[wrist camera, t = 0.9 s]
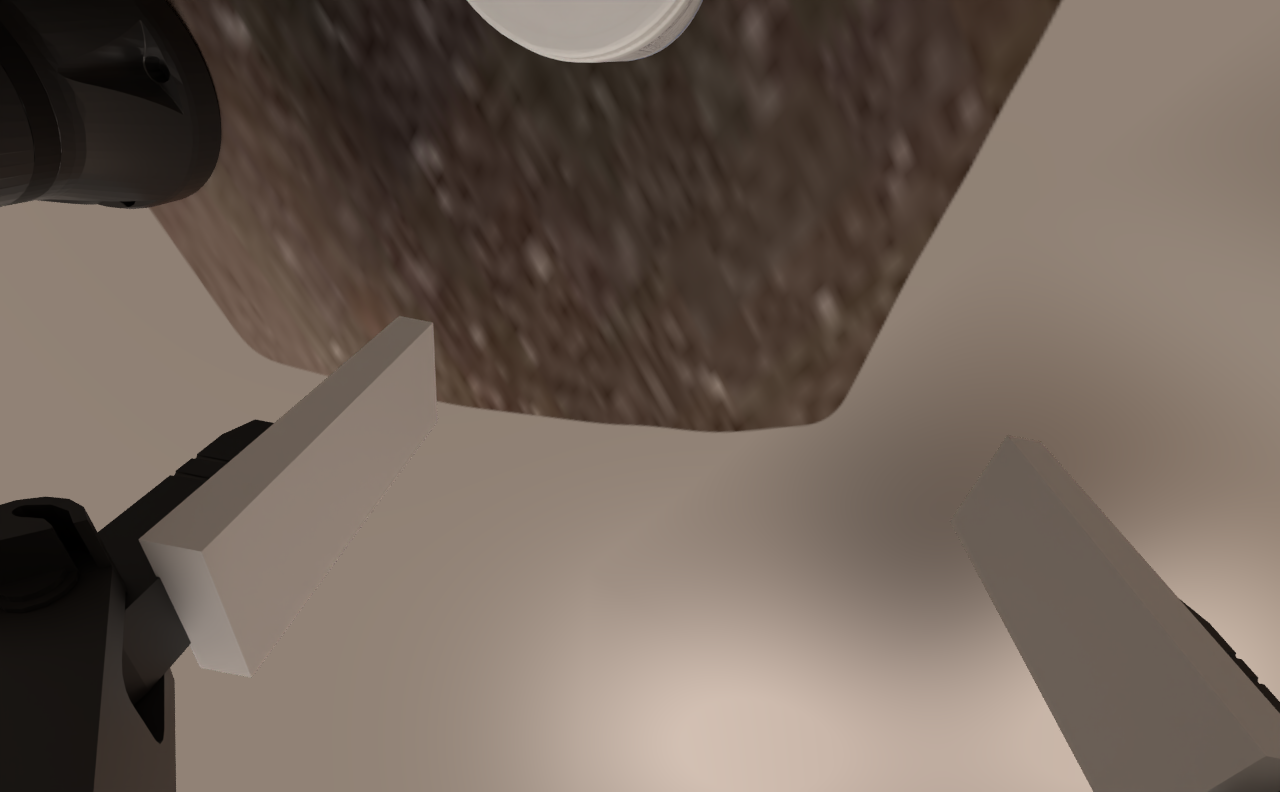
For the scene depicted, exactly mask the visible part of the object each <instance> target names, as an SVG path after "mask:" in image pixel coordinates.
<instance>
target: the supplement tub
mask: <svg viewBox="0 0 1280 792" xmlns="http://www.w3.org/2000/svg"><path fill="white" fill-rule="evenodd" d="M467 1H468V2H469V3H470V5H471V6H472V7H473V8H474V9H475V10H476V11H477V12H478V13H479V14H480V15H481V16H482V17H483V18H484V19H485V20H486V21H487V22H488V23H489V24H490V25H492V26H493V27H494V28H495V29H496V30H498V31H499V32H500V33H501V34H503V35H505V36H506V37H508V38H509V39H511V40H513V41H514V42H516V43H518V44H520V45H521V46H523V47H525V48H527V49H529V50H531V51H533V52H535V53H538V54H540V55H543V56H546V57H549V58H552V59H556V60H561V61H567V62H588V63H596V62H614V61H632V60H637V59H641V58H644V57H647V56H650V55H653V54H655V53H657V52H659V51H661V50H662V49H664V48H665V47H667V46H668V45H669V44H671V43H672V42H673V41H674V40H675V39H677V38H678V37H679V36H680V35H681V34H682V32H683V31H684V30H685V29H686V28H687V27H688V25H689V24H690V23H691V21H692V19H693V18H694V16H695V14H696V13H697V11H698V9H699V7H700V5H701V3H702V1H703V0H467Z"/></svg>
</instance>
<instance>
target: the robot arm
mask: <svg viewBox="0 0 1280 792" xmlns="http://www.w3.org/2000/svg"><path fill="white" fill-rule="evenodd" d="M220 144H221V122H220V113H219V108H218V103H217V99H216V94H215V91H214V88H213V84H212V82H211V79H210V76H209V73H208V71H207V69H206V66H205V64H204V62H203V59H202V57H201V55H200V53H199V51H198V49H197V48H196V46H195V44H194V42H193V40H192V39H191V37H190V35H189V34H188V32H187V30H186V29H185V27H184V26H183V24H182V23H181V21H180V20H179V18H178V17H177V16H176V14H175V13H174V12H173V10H172V9H171V8H170V6H169V5H168V4H167V3H166V1H165V0H0V207H2V206H6V205H12V204H17V203H22V202H27V201H33V200H41V201H51V202H60V203H72V204H99V205H103V206H108V207H115V208H126V209H128V208H129V209H136V208H148V207H153V206H157V205H161V204H165V203H169V202H173V201H177V200H180V199H183V198H186V197H188V196H190V195H192V194H193V193H195V192H196V191H198V190H199V189H200V188H201V187H202V186H203V185H204V184H205V183H206V182H207V180H208V179H209V177H210V176H211V174H212V172H213V170H214V168H215V166H216V163H217V160H218V156H219V151H220ZM436 423H437V401H436V378H435V356H434V333H433V323H432V322H427V321H422V320H417V319H412V318H407V317H401V316H399V317H398V318H396V319H395V320H394V321H393V322H392V323H391V324H389V325H388V326H387V327H386V328H385V329H384V330H382V331H381V332H380V333H379V334H378V335H377V336H375V337H374V338H373V339H372V340H371V341H370V342H368V343H367V344H366V345H365V346H364V347H363V348H361V349H360V350H359V351H358V352H357V353H356V354H354V355H353V356H352V357H351V358H350V359H349V360H347V361H346V362H345V363H344V364H343V365H342V366H340V367H339V368H338V369H337V370H336V371H335V372H333V373H332V374H331V375H330V376H329V377H328V378H326V379H325V380H324V381H323V382H322V383H321V384H319V385H318V386H317V387H316V388H315V389H314V390H312V391H311V392H310V393H309V394H308V395H307V396H305V397H304V398H303V399H302V400H301V401H300V402H298V403H297V404H296V405H295V406H294V407H293V408H291V409H290V410H289V411H288V412H287V413H286V414H284V415H283V416H282V417H281V418H280V419H279V420H277V421H276V422H275V423H271V422H265V421H260V420H253V421H251V422H249V423H247V424H244V425H242V426H240V427H238V428H235V429H233V430H231V431H229V432H226V433H224V434H222V435H221V436H220V437H218V438H217V439H216V440H215V441H213V442H212V443H211V444H209V445H208V446H207V447H206V448H204V449H203V450H202V451H201V452H199V453H198V454H197V458H196V459H190V460H189V461H188V462H187V463H185V464H184V465H183V466H181V467H180V468H179V469H178V470H176V473H175V475H174V476H169V477H168V478H166V479H165V480H164V481H162V482H161V483H160V484H159V485H158V486H156V487H155V488H154V489H152V490H151V491H150V492H148V493H147V494H146V495H145V496H143V497H142V498H141V499H140V500H138V501H137V502H136V503H135V504H133V505H132V506H131V507H130V508H128V509H127V510H126V511H124V512H123V513H122V514H121V515H119V516H118V517H117V518H116V519H114V520H113V521H112V522H110V523H109V524H108V525H107V526H105V527H104V528H103V529H101V530H100V531H99V532H98V533H97V531H96V529H95V527H94V525H93V523H92V522H91V520H90V518H89V516H88V514H87V512H86V511H85V509H84V507H83V506H81V505H79V504H77V503H75V502H74V501H72V500H70V499H63V498H54V497H39V498H31V499H23V500H16V501H12V502H9V503H5V504H2V505H0V792H176V763H175V762H176V761H175V694H174V693H175V690H174V689H175V688H174V678H173V675H172V672H171V670H170V667H171V666H172V664H173V663H174V662H175V661H176V660H177V659H178V657H179V656H180V655H181V654H182V653H183V652H184V651H185V649H186V648H187V647H188V646H189V645H190V647H191V649H192V651H193V653H194V656H195V658H196V660H197V662H198V664H199V666H200V668H204V669H210V670H215V671H219V672H225V673H230V674H235V675H240V676H246V677H251V678H252V677H253V675H254V674H255V672H256V671H257V670H258V668H259V667H260V666H261V664H262V663H263V661H264V660H265V659H266V657H267V656H268V655H269V653H270V652H271V650H272V649H273V647H274V646H275V645H276V644H277V642H278V641H279V639H280V638H281V637H282V635H283V634H284V633H285V631H286V630H287V628H288V627H289V625H290V624H291V623H292V621H293V620H294V619H295V617H296V616H297V615H298V613H299V612H300V610H301V609H302V608H303V606H304V605H305V604H306V602H307V601H308V599H309V598H310V597H311V595H312V594H313V592H314V591H315V590H316V588H317V587H318V586H319V584H320V583H321V582H322V580H323V579H324V577H325V576H326V574H327V573H328V572H329V570H330V569H331V567H332V566H333V565H334V564H335V562H336V561H337V559H338V558H339V557H340V555H341V554H342V552H343V551H344V550H345V548H346V547H347V546H348V544H349V543H350V541H351V540H352V539H353V537H354V536H355V535H356V533H357V532H358V530H359V529H360V528H361V526H362V525H363V524H364V522H365V521H366V519H367V518H368V517H369V515H370V514H371V513H372V511H373V510H374V508H375V507H376V506H377V504H378V503H379V501H380V500H381V498H382V497H383V496H384V495H385V493H386V492H387V491H388V489H389V488H390V486H391V485H392V484H393V482H394V481H395V479H396V478H397V477H398V475H399V474H400V473H401V471H402V470H403V468H404V467H405V466H406V464H407V463H408V462H409V460H410V459H411V457H412V456H413V455H414V453H415V452H416V451H417V449H418V448H419V446H420V445H421V444H422V442H423V441H424V440H425V438H426V437H427V435H428V434H429V433H430V431H431V430H432V428H433V427H434V426H435V424H436ZM950 522H951V524H952V526H953V528H954V530H955V532H956V534H957V536H958V538H959V540H960V541H961V543H962V545H963V547H964V549H965V551H966V553H967V555H968V557H969V558H970V560H971V562H972V564H973V566H974V568H975V570H976V572H977V573H978V575H979V577H980V579H981V581H982V583H983V585H984V587H985V589H986V590H987V592H988V594H989V596H990V598H991V600H992V602H993V604H994V605H995V607H996V609H997V611H998V613H999V615H1000V617H1001V619H1002V621H1003V622H1004V624H1005V626H1006V628H1007V630H1008V632H1009V633H1010V636H1011V637H1012V639H1013V641H1014V643H1015V645H1016V647H1017V649H1018V650H1019V653H1020V654H1021V656H1022V658H1023V660H1024V662H1025V664H1026V666H1027V668H1028V669H1029V671H1030V673H1031V675H1032V677H1033V679H1034V681H1035V683H1036V684H1037V686H1038V688H1039V690H1040V692H1041V694H1042V696H1043V698H1044V700H1045V701H1046V703H1047V705H1048V707H1049V709H1050V711H1051V712H1052V715H1053V716H1054V718H1055V720H1056V722H1057V724H1058V726H1059V728H1060V730H1061V731H1062V733H1063V735H1064V737H1065V739H1066V741H1067V743H1068V745H1069V747H1070V748H1071V750H1072V752H1073V754H1074V756H1075V758H1076V760H1077V762H1078V763H1079V765H1080V767H1081V769H1082V771H1083V773H1084V775H1085V777H1086V779H1087V780H1088V782H1089V784H1090V786H1091V788H1092V790H1093V792H1280V702H1279V701H1278V699H1277V698H1276V697H1275V696H1274V695H1273V694H1272V693H1271V692H1270V691H1269V689H1268V688H1267V687H1266V686H1265V685H1263V684H1259V683H1258V677H1257V676H1256V675H1255V674H1254V673H1253V672H1252V671H1251V669H1250V668H1249V667H1248V666H1247V665H1246V664H1245V663H1244V661H1243V660H1242V659H1238V658H1236V656H1235V654H1236V652H1235V651H1234V650H1233V649H1232V648H1231V647H1230V646H1229V645H1228V644H1227V643H1226V641H1225V640H1224V639H1223V638H1222V637H1221V636H1220V635H1219V633H1218V632H1217V631H1216V630H1215V629H1214V628H1213V627H1212V626H1211V625H1210V623H1208V622H1207V621H1206V620H1205V619H1203V618H1202V617H1201V616H1200V615H1198V614H1197V613H1196V612H1195V611H1194V610H1192V609H1191V608H1190V607H1189V606H1187V605H1186V604H1185V603H1184V602H1182V601H1181V600H1180V599H1179V598H1178V597H1177V596H1176V595H1175V594H1174V593H1173V591H1172V590H1171V589H1170V588H1169V587H1168V586H1167V585H1166V584H1165V582H1164V581H1163V580H1162V579H1161V578H1160V577H1159V576H1158V574H1157V573H1156V572H1155V571H1154V570H1153V569H1152V568H1151V566H1150V565H1149V564H1148V563H1147V562H1146V561H1145V560H1144V558H1143V557H1142V556H1141V555H1140V554H1139V553H1138V552H1137V551H1136V550H1135V548H1134V547H1133V546H1132V545H1131V544H1130V542H1129V541H1128V540H1127V539H1126V538H1125V537H1124V536H1123V535H1122V534H1121V532H1120V531H1119V530H1118V529H1117V528H1116V527H1115V526H1114V524H1113V523H1112V522H1111V521H1110V520H1109V519H1108V517H1106V515H1105V514H1104V513H1103V512H1102V511H1101V509H1100V508H1099V507H1098V506H1097V505H1096V504H1095V503H1094V502H1093V500H1092V499H1091V498H1090V497H1089V496H1088V495H1087V494H1086V493H1085V491H1084V490H1083V489H1082V488H1081V487H1080V486H1079V484H1078V483H1077V482H1076V481H1075V480H1074V479H1073V478H1072V476H1071V475H1070V474H1069V473H1068V472H1067V471H1066V470H1065V469H1064V467H1063V466H1062V465H1061V464H1060V463H1059V462H1058V461H1057V459H1056V458H1055V457H1054V456H1053V455H1052V454H1051V453H1050V451H1049V450H1048V449H1047V448H1046V447H1045V446H1044V445H1043V443H1042V442H1041V441H1036V440H1031V439H1026V438H1021V437H1015V436H1010V435H1007V436H1006V438H1005V440H1004V441H1003V442H1002V444H1001V445H1000V447H999V448H998V450H997V451H996V453H995V454H994V456H993V458H992V459H991V460H990V462H989V463H988V465H987V466H986V468H985V469H984V471H983V472H982V474H981V475H980V477H979V478H978V480H977V481H976V483H975V484H974V486H973V487H972V489H971V490H970V492H969V493H968V495H967V496H966V498H965V499H964V501H963V502H962V504H961V505H960V507H959V508H958V510H957V511H956V512H955V514H954V515H953V517H952V518H951V520H950Z"/></svg>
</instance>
